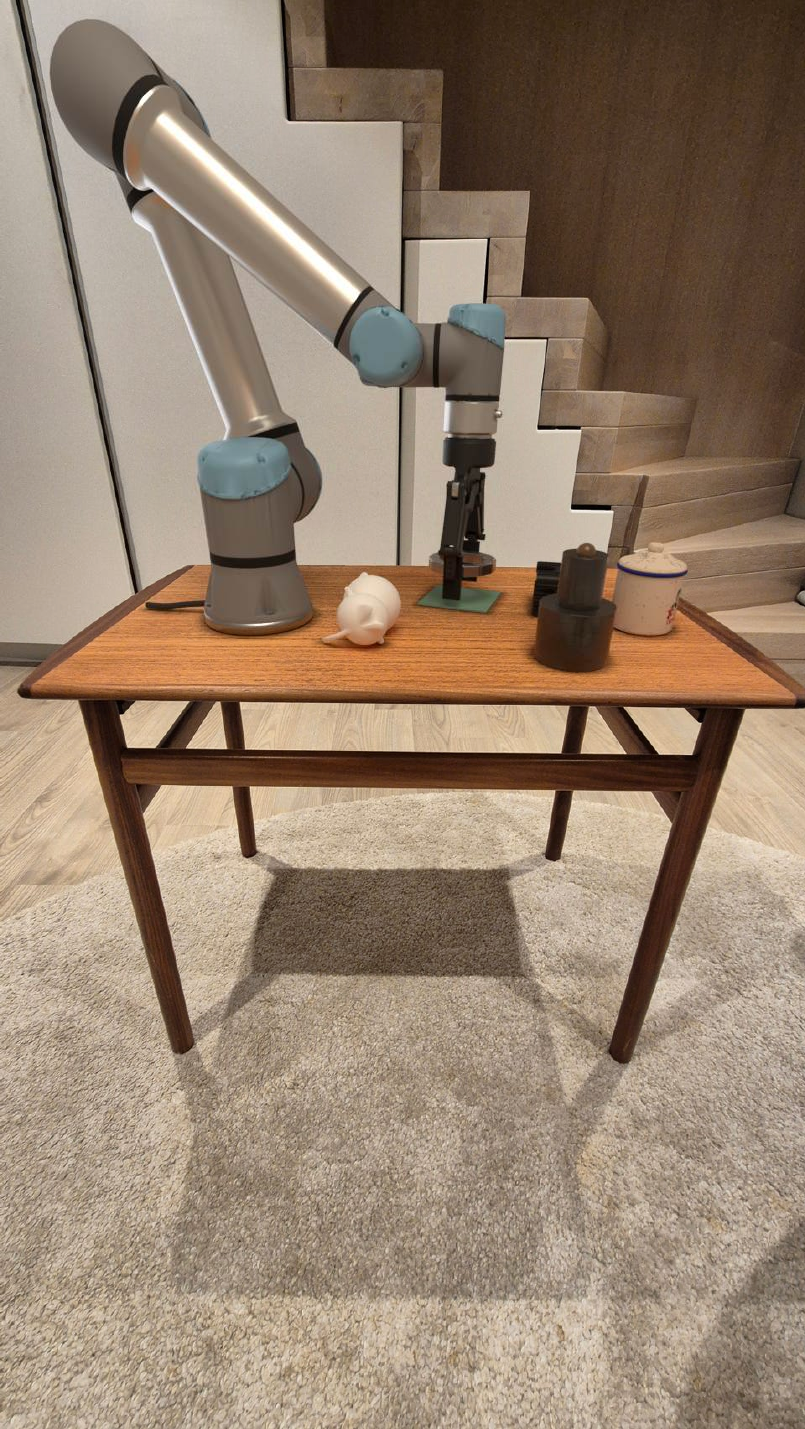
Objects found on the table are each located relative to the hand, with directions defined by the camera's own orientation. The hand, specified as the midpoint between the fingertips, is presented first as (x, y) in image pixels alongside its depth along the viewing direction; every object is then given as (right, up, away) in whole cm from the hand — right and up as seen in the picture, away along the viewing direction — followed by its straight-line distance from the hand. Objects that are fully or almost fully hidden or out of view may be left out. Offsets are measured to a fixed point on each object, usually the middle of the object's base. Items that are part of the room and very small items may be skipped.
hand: (460, 589), depth 95 cm
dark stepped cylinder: (+12, -13, -20) cm, 27 cm away
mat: (0, -1, +1) cm, 2 cm away
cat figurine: (-15, -10, -15) cm, 23 cm away
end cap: (+14, -4, -3) cm, 15 cm away
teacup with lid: (+25, -7, -8) cm, 27 cm away
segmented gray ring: (0, +3, -2) cm, 3 cm away
